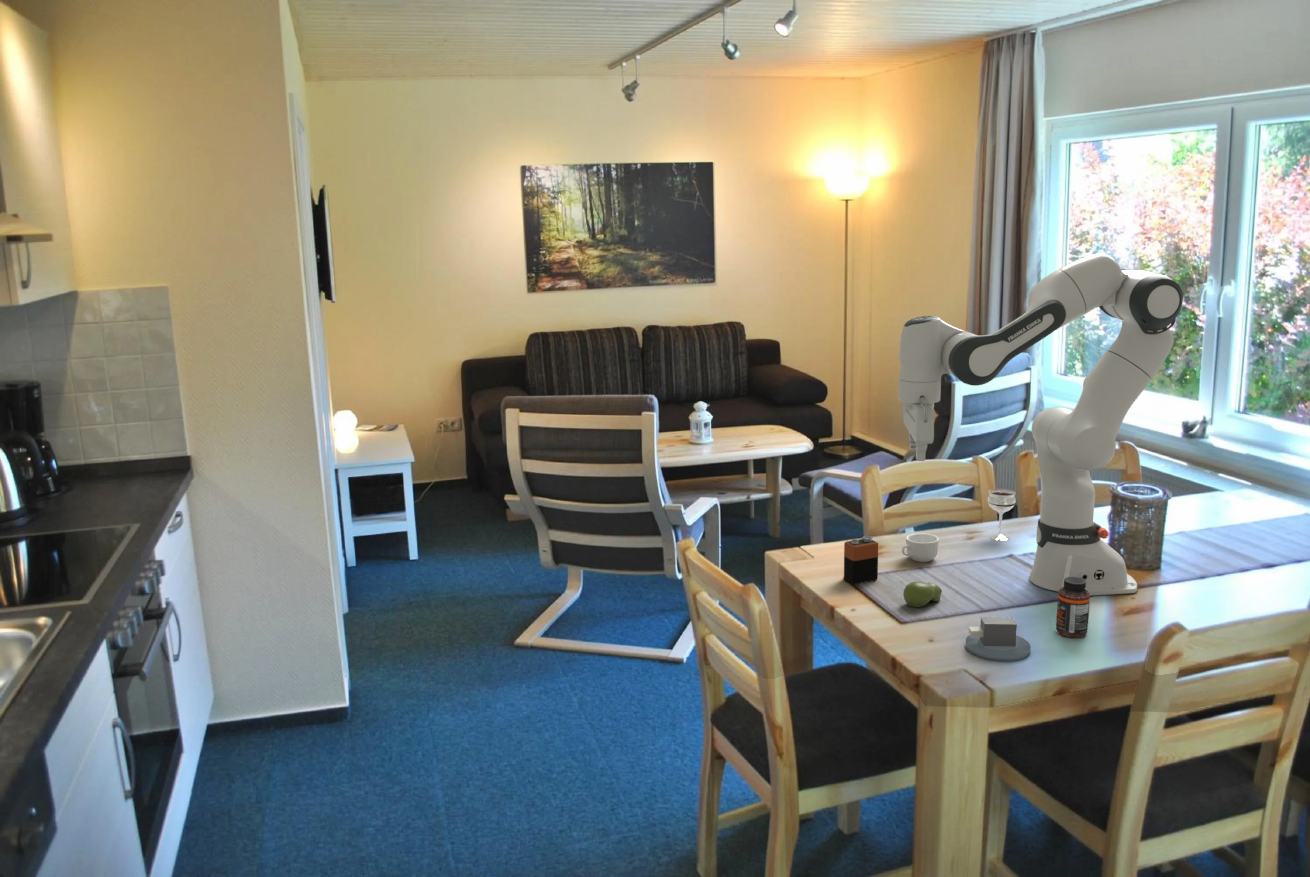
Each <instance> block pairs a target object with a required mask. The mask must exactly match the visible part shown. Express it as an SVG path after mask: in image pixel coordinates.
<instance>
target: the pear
mask: <svg viewBox="0 0 1310 877" xmlns="http://www.w3.org/2000/svg"><path fill="white" fill-rule="evenodd" d="M942 591H943V589H942V588H941V587H940V586H939V585H938V584H936V583H934V582H925V581H912V582H910V583H908V584H907V585H906V586H904V589H903V598H904V602H905V603H907V604H908V605H909V606H910V607H913V608H920V607H923V606H925V605H927V604H928V603H929V602H930V601H933V602H940V601H941V595H942Z"/></svg>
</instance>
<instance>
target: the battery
mask: <svg viewBox="0 0 1310 877" xmlns="http://www.w3.org/2000/svg"><path fill="white" fill-rule="evenodd" d="M843 547H844V548H843V550H844V551H843V579H844V580H846V581H847V582H849V583H851V584H853V585H856V584H855V583H857V584H862V583H861V582H863V583H866V582H865V581H868V582H871V581H870V580H873V581H877V580H878V578H879V577H878V575H879V572H878V571H879V542H878V541H876V540H874V539H873V537H872V536H870V535H863V536H862V538H860V539H858V538H857V539H856V538H853V539H851V540H848V541H845V542H844V546H843Z"/></svg>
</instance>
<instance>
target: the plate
mask: <svg viewBox="0 0 1310 877" xmlns="http://www.w3.org/2000/svg"><path fill="white" fill-rule="evenodd" d="M1031 646H1032V645H1031V644H1030V642H1029V641H1028V640H1026V639H1025V638H1024V637H1021V636H1020V635H1017V634H1016V646H983V644H982V642H981V640H980V637H971V636H970V634H969V635H967V637H966V638H965V648H966V650H967V651H968V652H969V653H970V654H972V655H974V656H976V657H978V658H980V659H985V660H989V661H994V662H1017V661H1021V660H1024V659H1027V658H1028V657H1029V656H1031V655H1030V654H1031V649H1032V648H1031Z"/></svg>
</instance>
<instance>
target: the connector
mask: <svg viewBox="0 0 1310 877" xmlns="http://www.w3.org/2000/svg"><path fill="white" fill-rule="evenodd" d="M1017 626H1018V624H1017V623H1016V621H1015V619H1014V618H1013V617H1011V616H1009V617H1007V616H980V626H969V627H968V634H969V635H970V636H971V637H980V640H981V642H982V644H983V646H1016V635H1017V631H1018V630H1017V628H1018V627H1017Z"/></svg>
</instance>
